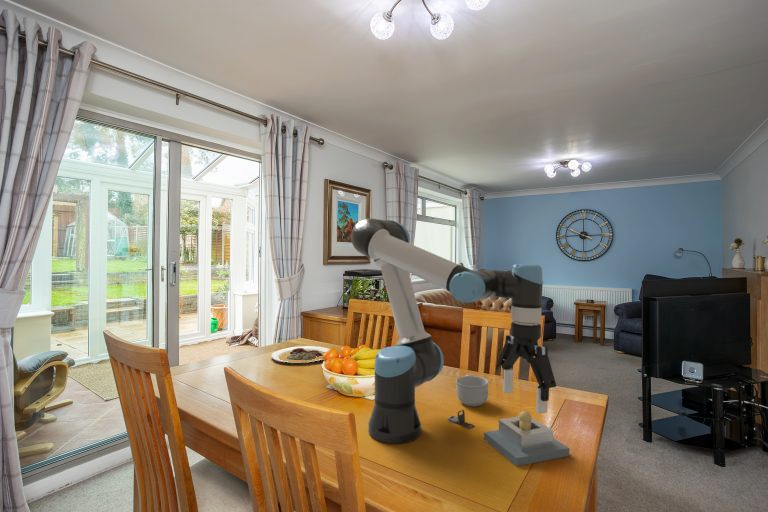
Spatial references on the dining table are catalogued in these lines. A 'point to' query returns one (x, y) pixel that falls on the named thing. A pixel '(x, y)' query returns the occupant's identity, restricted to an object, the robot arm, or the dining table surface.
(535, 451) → the keeper
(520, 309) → the robot arm
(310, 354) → the plated food
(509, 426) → the grey square ring block
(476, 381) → the teacup
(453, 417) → the strap clip
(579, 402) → the dining table surface
